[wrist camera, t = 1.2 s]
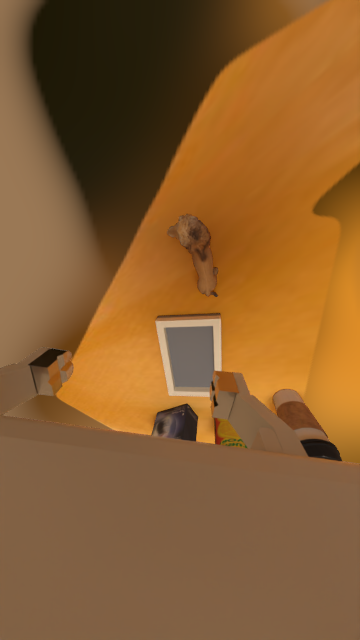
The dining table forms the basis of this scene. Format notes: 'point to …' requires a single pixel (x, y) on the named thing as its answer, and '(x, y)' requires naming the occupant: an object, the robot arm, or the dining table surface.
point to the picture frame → (190, 352)
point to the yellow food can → (227, 434)
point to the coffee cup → (304, 425)
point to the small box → (176, 423)
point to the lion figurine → (197, 250)
